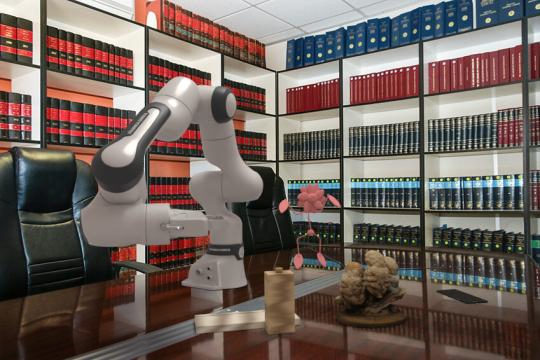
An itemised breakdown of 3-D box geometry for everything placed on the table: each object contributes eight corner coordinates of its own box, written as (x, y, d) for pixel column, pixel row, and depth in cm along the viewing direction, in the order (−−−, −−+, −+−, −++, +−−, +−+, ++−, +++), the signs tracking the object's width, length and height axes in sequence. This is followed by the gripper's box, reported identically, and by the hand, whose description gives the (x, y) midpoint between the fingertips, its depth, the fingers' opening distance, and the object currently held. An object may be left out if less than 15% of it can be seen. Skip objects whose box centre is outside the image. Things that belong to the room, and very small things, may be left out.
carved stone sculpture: (393, 310, 107) (392, 245, 108) (419, 325, 96) (418, 251, 96) (328, 315, 103) (328, 247, 104) (347, 331, 92) (347, 254, 92)
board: (196, 333, 90) (196, 326, 91) (194, 321, 99) (194, 315, 99) (300, 324, 96) (300, 318, 96) (290, 314, 105) (289, 307, 105)
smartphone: (466, 302, 112) (435, 290, 127) (467, 305, 112) (435, 292, 127) (489, 301, 113) (455, 288, 128) (489, 304, 113) (455, 291, 128)
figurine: (276, 268, 169) (276, 183, 170) (334, 264, 176) (334, 183, 176) (287, 276, 154) (287, 183, 155) (350, 272, 161) (349, 183, 162)
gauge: (268, 334, 90) (268, 270, 90) (258, 318, 101) (257, 261, 102) (295, 332, 91) (294, 268, 91) (281, 316, 103) (280, 260, 103)
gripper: (159, 212, 77) (232, 210, 80) (163, 206, 97) (221, 205, 100) (159, 246, 77) (232, 242, 80) (163, 233, 97) (221, 230, 100)
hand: (226, 221), depth 91 cm, fingers open, 8 cm apart
